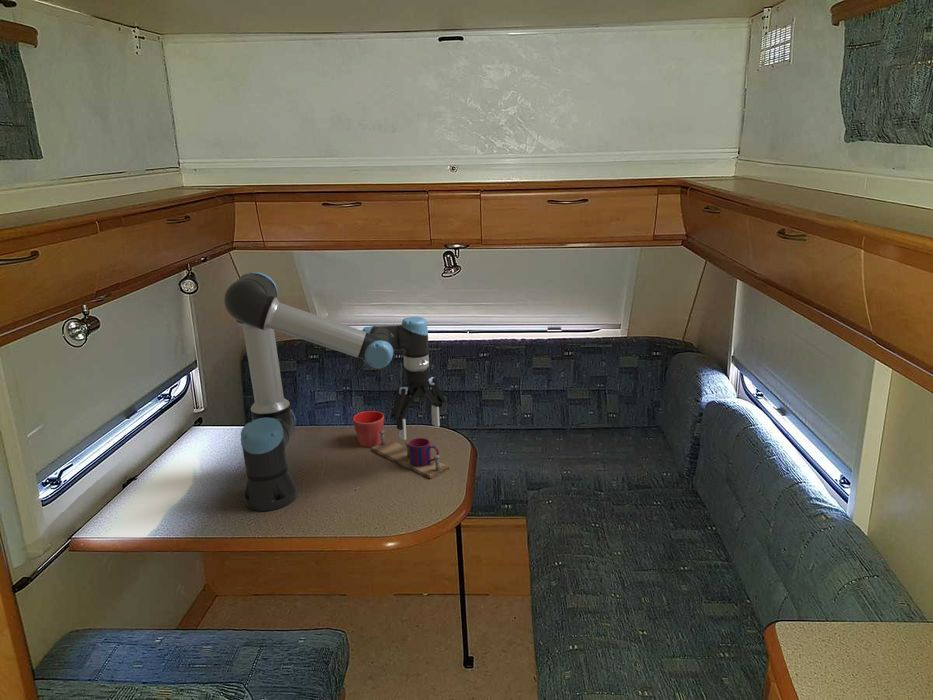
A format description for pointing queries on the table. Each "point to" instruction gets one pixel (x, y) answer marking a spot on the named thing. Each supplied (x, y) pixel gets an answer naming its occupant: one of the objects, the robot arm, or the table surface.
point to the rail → (408, 457)
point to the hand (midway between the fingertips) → (419, 431)
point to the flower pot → (369, 427)
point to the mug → (421, 452)
